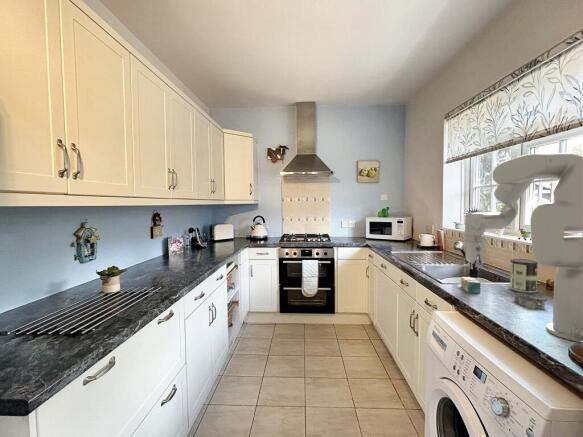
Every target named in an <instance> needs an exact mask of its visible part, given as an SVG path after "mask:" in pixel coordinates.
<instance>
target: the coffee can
mask: <svg viewBox="0 0 583 437" xmlns="http://www.w3.org/2000/svg"><path fill="white" fill-rule="evenodd" d="M509 260H510V261H509V262H510V271H509V273H510V277H509V279H510V284H509V289H510V290H513V291H515V292H522V293H532V294H533V293H537V292H538V290H537V289H538V288H537V287H538V286H537V285H538V265H539V262H538V261H537V260H533V259H524V258H511V259H509Z"/></svg>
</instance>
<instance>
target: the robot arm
mask: <svg viewBox="0 0 583 437" xmlns="http://www.w3.org/2000/svg"><path fill="white" fill-rule="evenodd" d="M492 179H493V181H494V182H495V183H496V184H498V186H497V187H496V189H495V190H494V192H493V195H494V197H495V199H496V200H497V201H499V202H500V203H502V204H504V205H503V206H502V208H501V209H500V211H498V212H468V213H466V214H465V215H464V217H465V220H464V242H465V243H466V244H465V261H467V262H468V277H471V278H474V279H477V278H478V277H479V268H480V264H481V265H484V264H485V252H484V250H485V249H484V241H485V238H484V237H485V231H488V230H489V231H491V230H503V229H506V228H508V227H509V226H510V225H511V223H512V222H513V221H514V220H515V219H516V217H517V216H518V212H519V204H518V203H519V202H518V201H519V200H520V198H521V197H522V196H523V195H524V193H525V192H526V190H528V188H529V186H530V185H532V183H533V181H535V180H537V179H538V180H544V179H545V180H546V179H556V180H557V179H558V180H557V181H556V183H555V185H554V187H553V201H552V202H550V201H548V202H543V203H541V204H539V205H537V206H536V207H535V208H534V209H533V211H532V213H531V215H530V233H531V234H530V236H531V247H532V248H531V250H532V254H533V256H534V259H535V261H537V262H538V264H540V265H541V266H543V267H546V268H557V270H556V272H555V276H554V283H553V287H554V288H553V308H552V309H553V310H552V322H550V323H548V324H546V327H545V329H546V330H547V332H549V333H550V334H552V335H553V336H557V337H559V338H562V339H565V340H568V341H573V342H577V343H581V342H580V341H583V236H580V235H579V236H578V235H572V236H571V235H568V236H565V235H564V233H572V232H573V233H577V232H582V231H583V156H581V155H578V154H573V153H567V152H566V153H565V152H564V153H563V152H562V153H561V152H554V153H553V152H548V153H547V152H545V153H543V152H541V153H540V152H539V153H535V152H534V153H528V154H527V153H526V154H523V155H521V156H517V157H514V158H511V159H507V160H504V161H501V162H500V163H498V164H497V165H496V166H495V167H494V169H493V171H492Z"/></svg>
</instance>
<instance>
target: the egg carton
mask: <svg viewBox="0 0 583 437" xmlns="http://www.w3.org/2000/svg"><path fill="white" fill-rule="evenodd" d="M512 295H513V302H515V303H519V305H522V306H525V308H527V309H532V310H535V309H540V310H541V309H542V310H544V309H545V307H546V306H545V305H546V302H548V301H547V299H546V298H542V297H541V298H538V297H535V296H530V295H529V294H525V293H518V292H516V293H515V292H512Z"/></svg>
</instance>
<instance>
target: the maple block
mask: <svg viewBox="0 0 583 437" xmlns="http://www.w3.org/2000/svg"><path fill="white" fill-rule="evenodd" d="M460 282H461V284H460V285H461V288H462V289H463V290H465V292H467V293H469V294H470V293H472V294H481V282H480V281H479V280H477V278H471V277H469V276H461V280H460Z"/></svg>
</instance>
